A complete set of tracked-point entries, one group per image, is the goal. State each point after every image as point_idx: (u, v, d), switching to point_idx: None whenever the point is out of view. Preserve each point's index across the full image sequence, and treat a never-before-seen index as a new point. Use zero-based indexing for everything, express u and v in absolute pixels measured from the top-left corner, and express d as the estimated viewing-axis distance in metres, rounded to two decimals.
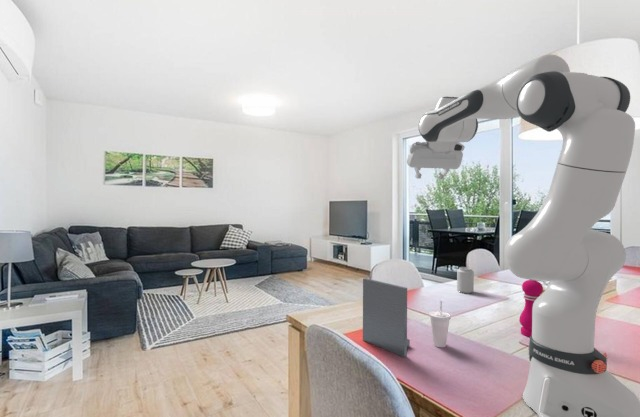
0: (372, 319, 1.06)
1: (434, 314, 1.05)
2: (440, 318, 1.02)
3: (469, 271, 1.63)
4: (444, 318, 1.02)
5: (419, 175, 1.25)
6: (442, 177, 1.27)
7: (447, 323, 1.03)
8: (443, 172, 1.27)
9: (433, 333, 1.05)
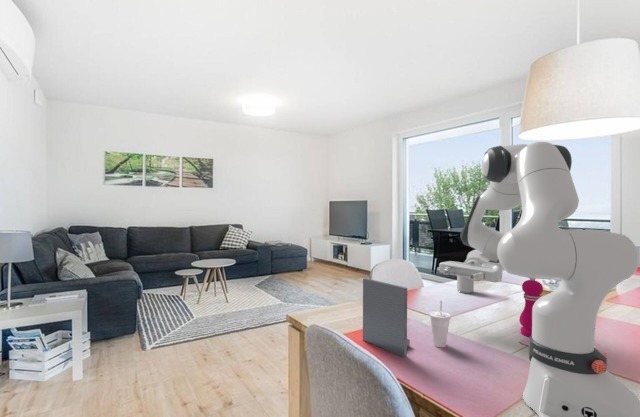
0: (372, 319, 1.06)
1: (434, 314, 1.05)
2: (440, 318, 1.02)
3: None
4: (444, 318, 1.02)
5: (447, 269, 1.17)
6: (473, 274, 1.10)
7: (447, 323, 1.03)
8: None
9: (433, 333, 1.05)
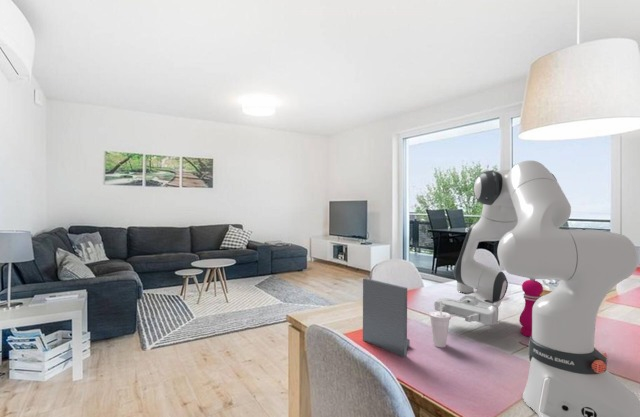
0: (372, 319, 1.06)
1: (434, 314, 1.05)
2: (440, 318, 1.02)
3: None
4: (444, 318, 1.02)
5: None
6: (468, 315, 1.07)
7: (447, 323, 1.03)
8: None
9: (433, 333, 1.05)
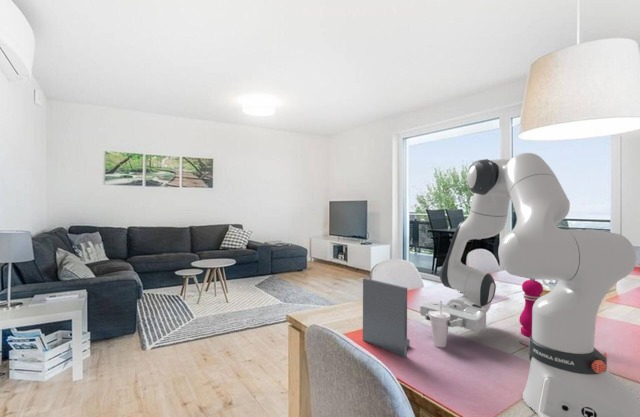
0: (372, 319, 1.06)
1: (434, 314, 1.05)
2: (440, 318, 1.02)
3: None
4: (444, 318, 1.02)
5: None
6: (451, 320, 1.02)
7: (447, 323, 1.03)
8: None
9: (433, 333, 1.05)
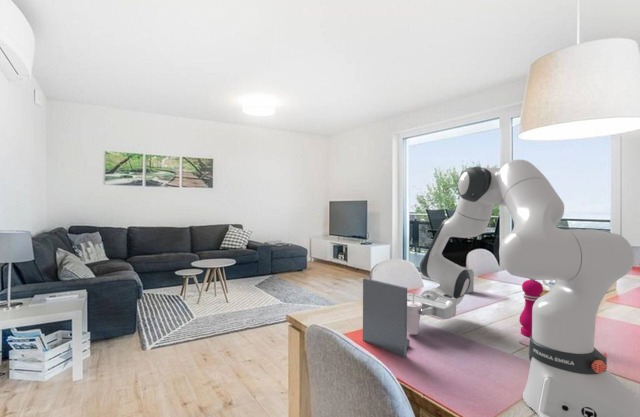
0: (372, 319, 1.06)
1: (407, 304, 1.13)
2: (412, 307, 1.10)
3: (469, 271, 1.63)
4: (416, 307, 1.10)
5: None
6: (422, 309, 1.10)
7: None
8: None
9: None
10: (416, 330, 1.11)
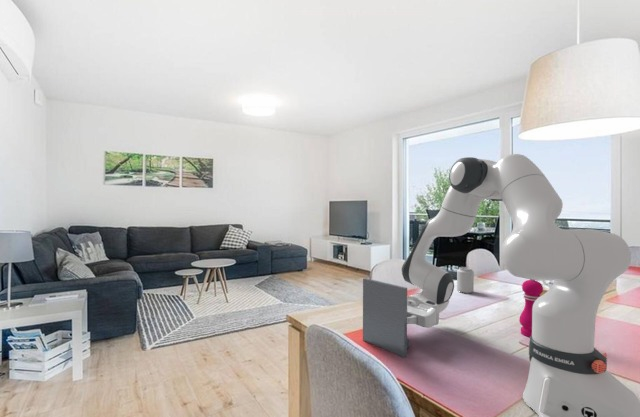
0: (372, 319, 1.06)
1: None
2: None
3: (469, 271, 1.63)
4: None
5: None
6: None
7: None
8: None
9: None
10: None
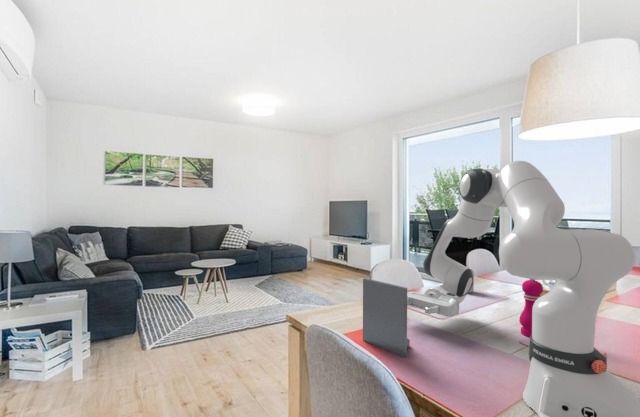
0: (372, 319, 1.06)
1: None
2: None
3: None
4: None
5: None
6: (428, 307, 1.10)
7: None
8: None
9: None
10: None
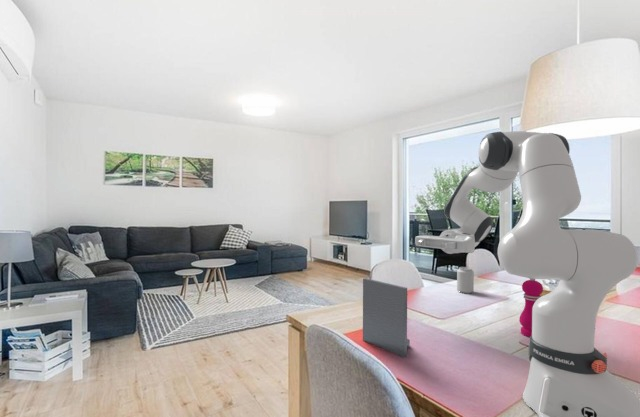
0: (372, 319, 1.06)
1: None
2: None
3: (469, 271, 1.63)
4: None
5: (421, 240, 1.21)
6: (445, 243, 1.13)
7: None
8: None
9: None
10: None
